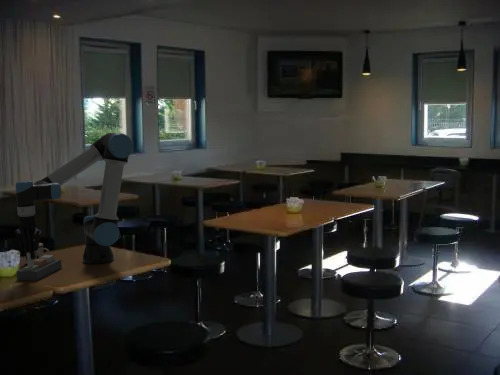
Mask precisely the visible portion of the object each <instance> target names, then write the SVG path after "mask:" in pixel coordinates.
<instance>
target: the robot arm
mask: <svg viewBox="0 0 500 375" xmlns="http://www.w3.org/2000/svg"><path fill="white" fill-rule="evenodd" d="M133 149H134V144H133V140H132V139H131V138H130V137H129V135H127V134H125V133H121V132H108V133H106V134H104V135H103V136H101V137H100V138H98V139H97V140H95V142H93V143H92V144H90V147H89V148H87V149H86V150H84V151H83V152H81V153H80V154H78V155H76V156H75V157H73V158H72V159H71V160H69V161H68V162H66V163H65V164H63V165H61V166H60V167H58V168H57V169H56V170H54V171H53V172H51V173H50V174H48V175H47V176H45V177H43V178H42V179H40V180H37V181H35V182H33V180H20V181H17V182H16V183H15V198H16V199H15V200H16V209H17V216H18V217H17V220H18V221H17V223H18V228H17V229H16V230H14V231H13V233H14V235H15V236H16V239H17V243H18V245H19V246H18V247H19V248H20V252H24V255H25V260H26V259H27V263H28V264H27V266H28V267H32V266H34V260H33V259H35V254H34V252H35V251H37V250H38V248H39V243H40V240H41V234H42V232H43V230H42V229H39V228H38V226H37V218H36V215H35V214H36V206H35V205H36V204H35V202H40V201H50V200H51V201H52V200H58V199H61V198H62V187H61V186H63V185H64V184H66V183H68V182H69V181H71V180H72V179H74V178H75V177H76V176H78V175H79V174H81V173H82V172H84V171H86V170H87V169H89V168H90V167H92V166H93V165H95V164H97V163H98V162H99V161H100V162H103V161H104V162H105V165H104V172H103V179H102V184H101V190H100V191H101V192H100V197H99V203H98V204H99V205H98V211H97V213H95V214H94V215H87V216H84V218H83V233H84V234H83V235H84V245H85V247H84V251H83V255H82V263H84V264H87V265H89V264H90V265H98V264H106V263H109V262H112V261H114V258H115V256H114V252H113V250H112V247H111V246H112V245H114V244H115V243H116V242H118V240H119V238H120V228H119V221H120V220H119V219H120V218H119V217H118V215H117V212H118V204H119V198H120V193H121V187H122V186H121V185H122V181H123V173H124V166H126V165H127V164H128V162H129V157H130V155H131V154H132V152H133Z"/></svg>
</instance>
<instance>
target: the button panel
mask: <svg viewBox="0 0 500 375" xmlns="http://www.w3.org/2000/svg"><path fill="white" fill-rule="evenodd" d="M60 269H62V259H54V262H51V263H47V265H45V266H43V267H39V269H37V270H35V271H24V269H23V268H21V269H18V270H17V271H16V279H17V281H38V280H41V279H42V278H44V277H47V276H49V275H50V274H53V273H54V272H56V271H58V270H60Z"/></svg>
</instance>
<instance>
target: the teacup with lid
mask: <svg viewBox="0 0 500 375" xmlns="http://www.w3.org/2000/svg"><path fill="white" fill-rule="evenodd" d="M44 251H46V255H50V250H49V249H48V248H46V247H44V243H42V242H39V248H38V250H37V251H35V252H34V254H35V259H40V257H42V256H44V255H45V253H44ZM35 259H33V260H35ZM25 264H26V265H28V263H27V259H26V258H25Z"/></svg>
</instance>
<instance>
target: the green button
mask: <svg viewBox="0 0 500 375" xmlns="http://www.w3.org/2000/svg"><path fill="white" fill-rule="evenodd" d="M22 269H24V271H35V270H37V269H39V265H34V266H32V267H28V265H27V266H24V267H23V268H22Z"/></svg>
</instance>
